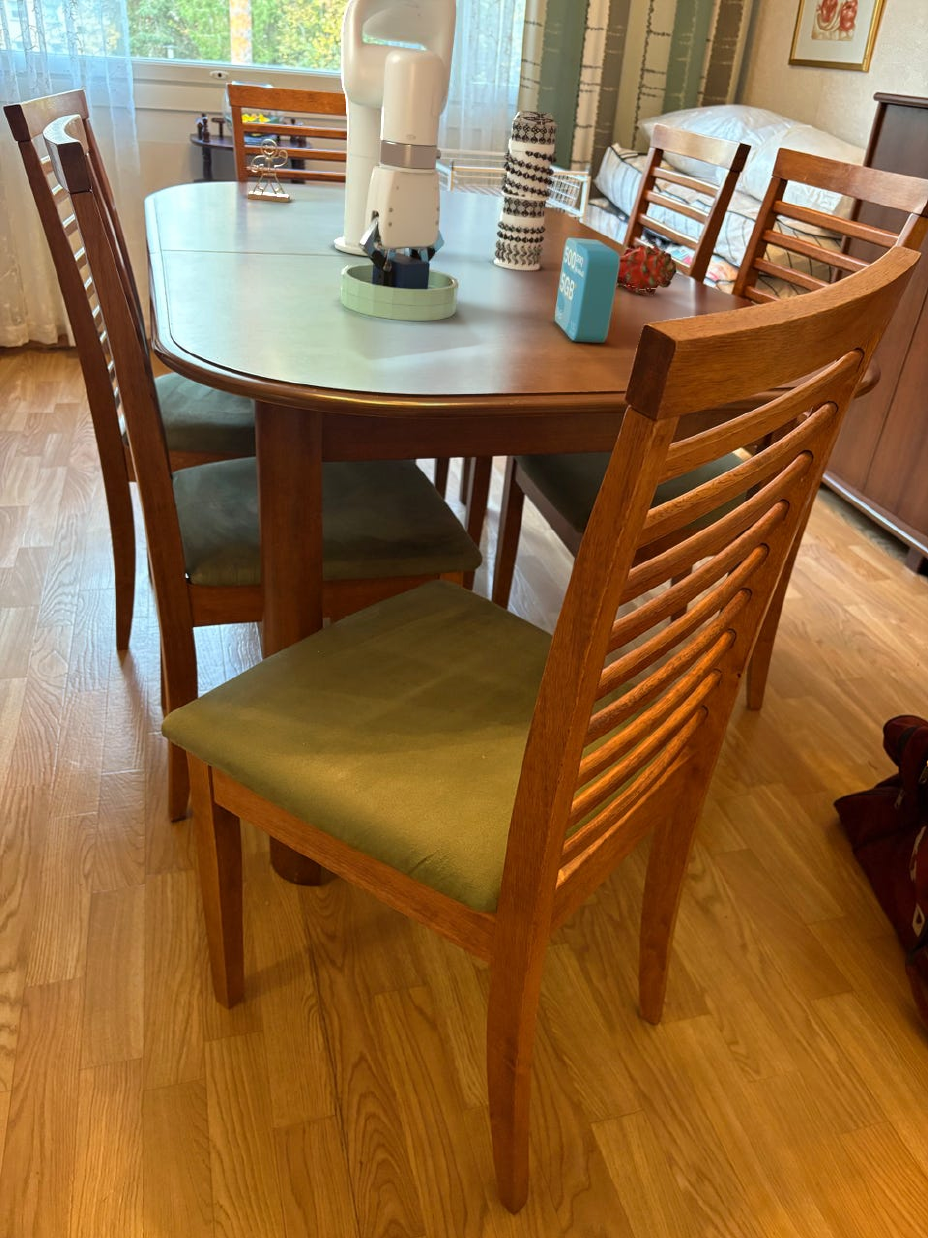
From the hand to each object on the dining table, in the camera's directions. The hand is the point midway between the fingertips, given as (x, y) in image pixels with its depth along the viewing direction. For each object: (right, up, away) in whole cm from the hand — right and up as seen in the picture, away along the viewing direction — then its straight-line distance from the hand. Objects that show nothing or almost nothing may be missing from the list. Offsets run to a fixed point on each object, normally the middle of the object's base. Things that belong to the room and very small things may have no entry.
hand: (399, 295), depth 137 cm
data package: (+26, -6, -1) cm, 26 cm away
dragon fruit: (+39, +10, +29) cm, 50 cm away
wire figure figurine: (-34, +47, +76) cm, 95 cm away
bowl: (0, -2, +1) cm, 2 cm away
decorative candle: (+19, +19, +39) cm, 47 cm away
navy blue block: (0, -1, +1) cm, 1 cm away
